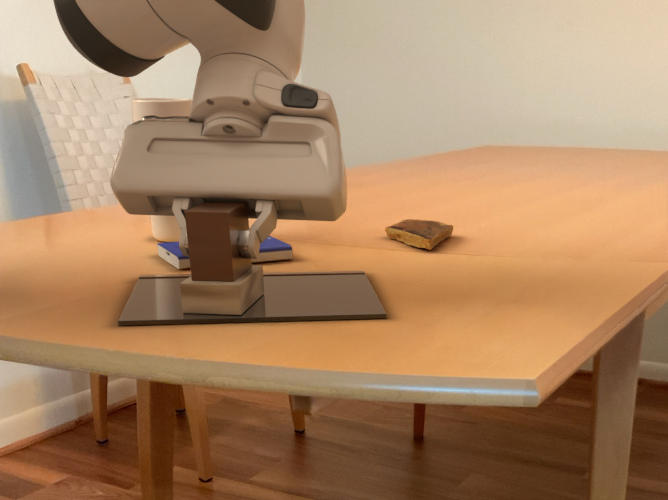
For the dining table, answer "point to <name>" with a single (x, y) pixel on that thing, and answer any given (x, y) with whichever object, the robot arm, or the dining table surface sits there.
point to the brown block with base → (219, 261)
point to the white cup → (162, 107)
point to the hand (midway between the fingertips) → (218, 253)
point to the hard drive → (268, 252)
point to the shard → (419, 232)
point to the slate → (261, 300)
